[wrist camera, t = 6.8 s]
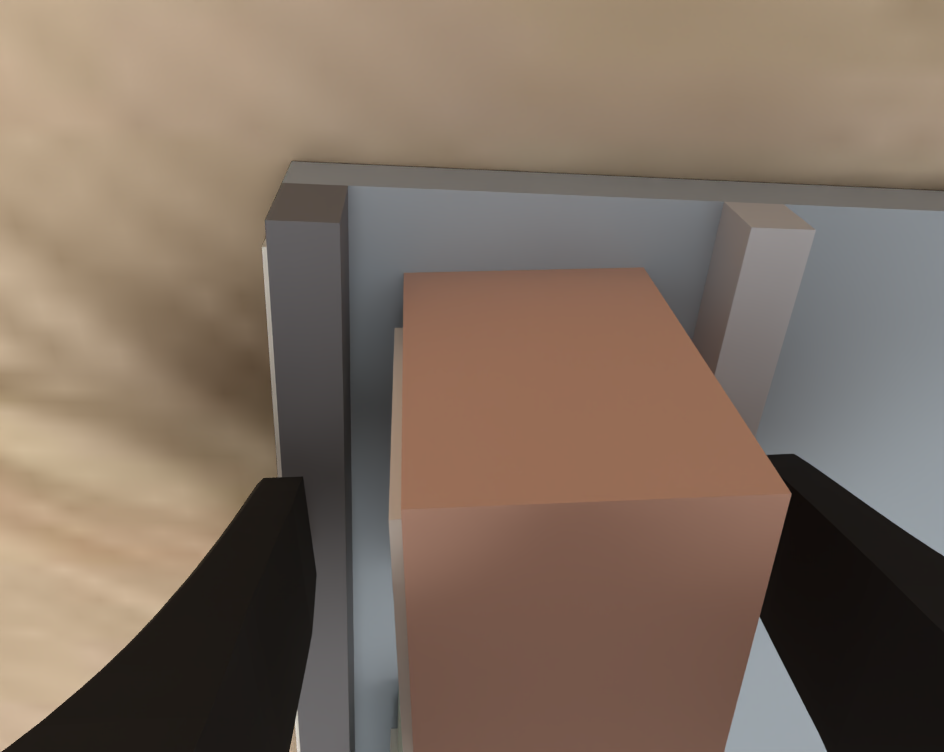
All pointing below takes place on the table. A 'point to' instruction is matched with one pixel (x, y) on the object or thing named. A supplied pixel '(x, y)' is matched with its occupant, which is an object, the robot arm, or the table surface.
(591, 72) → the table surface
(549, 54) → the table surface
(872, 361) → the shelf board
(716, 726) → the terracotta carton
